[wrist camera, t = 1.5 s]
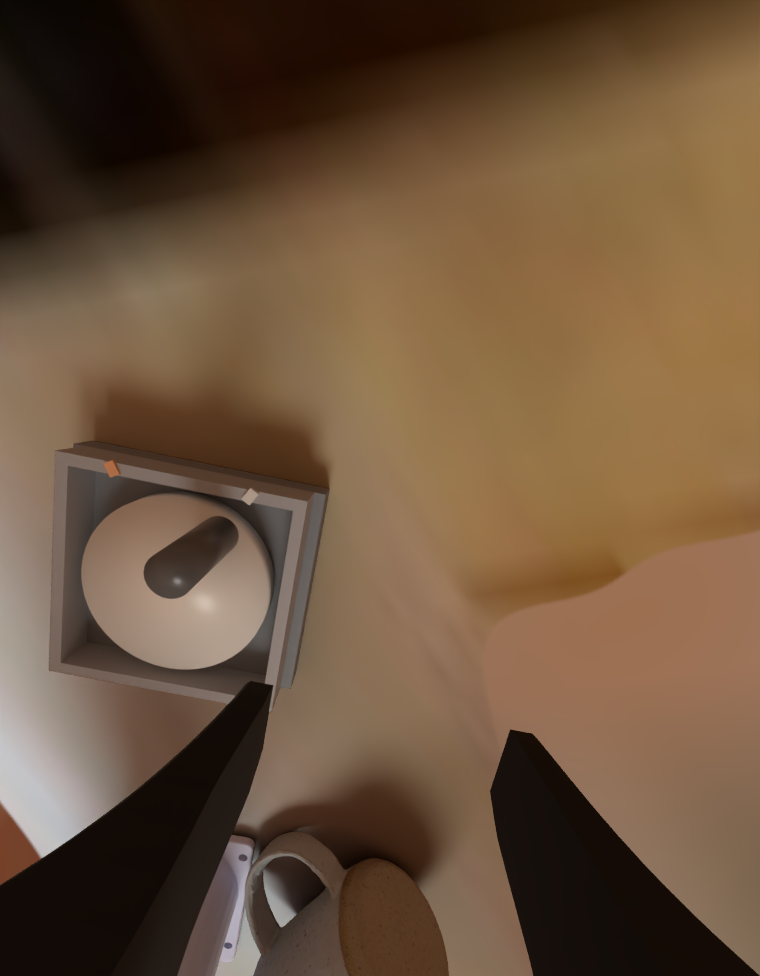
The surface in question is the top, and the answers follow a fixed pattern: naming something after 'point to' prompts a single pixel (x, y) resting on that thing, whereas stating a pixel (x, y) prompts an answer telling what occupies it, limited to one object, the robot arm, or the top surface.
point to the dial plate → (136, 474)
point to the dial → (178, 579)
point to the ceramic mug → (345, 919)
